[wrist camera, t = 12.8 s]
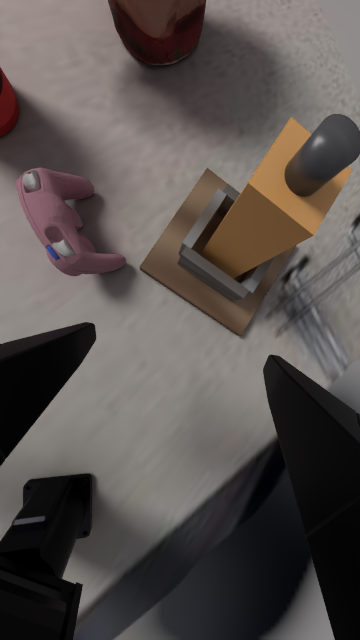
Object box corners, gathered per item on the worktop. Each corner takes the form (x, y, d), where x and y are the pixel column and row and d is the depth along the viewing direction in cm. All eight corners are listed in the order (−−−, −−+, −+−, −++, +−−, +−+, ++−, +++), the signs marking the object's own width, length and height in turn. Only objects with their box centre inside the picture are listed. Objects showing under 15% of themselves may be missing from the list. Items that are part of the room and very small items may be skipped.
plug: (230, 280, 21) (354, 213, 8) (198, 257, 20) (273, 145, 7) (250, 248, 21) (400, 134, 8) (219, 224, 20) (326, 63, 8)
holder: (237, 334, 22) (255, 338, 18) (140, 269, 20) (136, 257, 16) (292, 243, 23) (321, 227, 19) (204, 174, 21) (216, 141, 17)
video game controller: (67, 205, 21) (-11, 168, 14) (94, 181, 19) (22, 126, 13) (103, 283, 21) (44, 282, 15) (132, 265, 20) (81, 255, 13)
